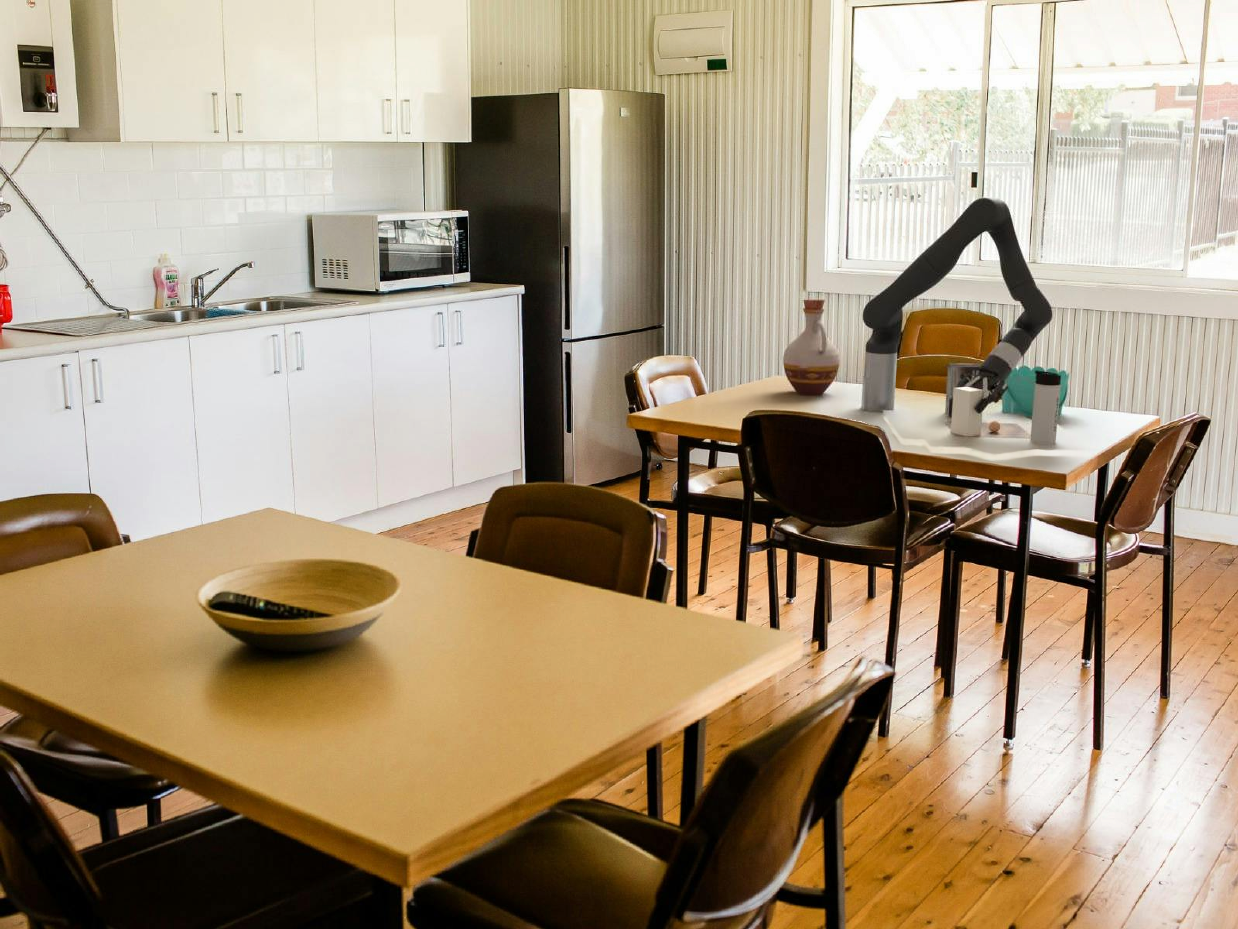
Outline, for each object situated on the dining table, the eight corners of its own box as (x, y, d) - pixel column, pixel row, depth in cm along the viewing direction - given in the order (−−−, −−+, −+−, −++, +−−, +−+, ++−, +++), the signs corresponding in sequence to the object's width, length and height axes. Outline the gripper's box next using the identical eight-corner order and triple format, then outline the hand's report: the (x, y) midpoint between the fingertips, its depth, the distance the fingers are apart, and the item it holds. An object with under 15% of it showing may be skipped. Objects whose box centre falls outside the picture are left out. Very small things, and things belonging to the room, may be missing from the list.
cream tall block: (964, 430, 349) (967, 386, 347) (980, 434, 344) (984, 390, 341) (950, 432, 347) (953, 387, 344) (966, 436, 342) (969, 391, 339)
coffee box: (976, 418, 374) (980, 363, 371) (979, 422, 368) (984, 366, 365) (943, 417, 375) (947, 362, 372) (947, 422, 369) (951, 365, 365)
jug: (849, 398, 405) (854, 301, 398) (795, 400, 401) (799, 302, 394) (825, 388, 424) (829, 295, 417) (773, 389, 420) (777, 296, 413)
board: (956, 441, 342) (957, 436, 342) (943, 427, 362) (944, 421, 361) (1034, 443, 341) (1034, 438, 340) (1016, 428, 360) (1017, 423, 360)
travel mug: (1024, 444, 340) (1031, 368, 335) (1049, 444, 340) (1055, 368, 336) (1034, 449, 334) (1040, 372, 329) (1059, 449, 334) (1065, 372, 330)
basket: (1063, 409, 390) (1067, 367, 387) (1068, 420, 373) (1072, 376, 370) (997, 406, 395) (1000, 364, 392) (999, 417, 378) (1002, 373, 375)
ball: (989, 433, 346) (990, 422, 346) (987, 430, 349) (988, 419, 349) (1000, 433, 346) (1001, 422, 346) (998, 431, 349) (999, 420, 349)
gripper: (974, 350, 351) (939, 395, 348) (1013, 357, 338) (977, 403, 336) (987, 368, 354) (953, 413, 351) (1027, 376, 342) (991, 422, 339)
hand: (965, 408), depth 344 cm, fingers open, 8 cm apart
